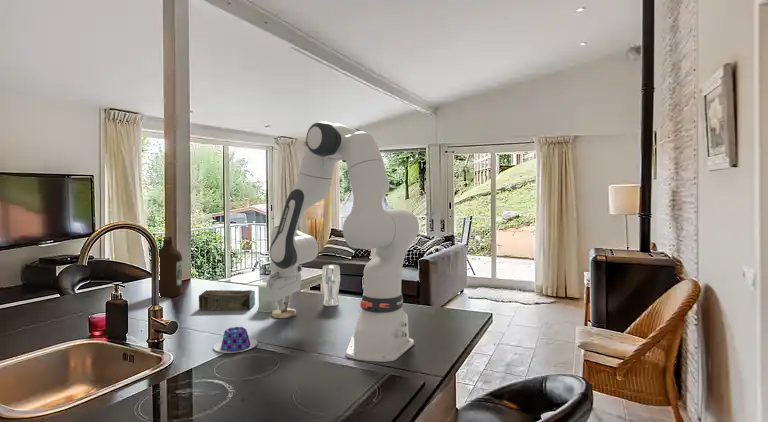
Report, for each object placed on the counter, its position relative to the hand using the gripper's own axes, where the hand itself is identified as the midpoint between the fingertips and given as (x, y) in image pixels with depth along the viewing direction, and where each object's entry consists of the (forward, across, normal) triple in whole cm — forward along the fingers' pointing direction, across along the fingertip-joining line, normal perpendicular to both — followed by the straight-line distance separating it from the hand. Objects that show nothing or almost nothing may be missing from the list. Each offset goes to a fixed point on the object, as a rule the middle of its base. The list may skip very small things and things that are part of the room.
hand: (284, 308), depth 158 cm
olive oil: (+2, +15, +61) cm, 63 cm away
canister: (+2, +5, +9) cm, 11 cm away
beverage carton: (+3, +4, +25) cm, 26 cm away
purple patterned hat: (+3, -32, -1) cm, 32 cm away
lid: (+2, 0, 0) cm, 2 cm away
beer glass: (+3, +18, -11) cm, 21 cm away
